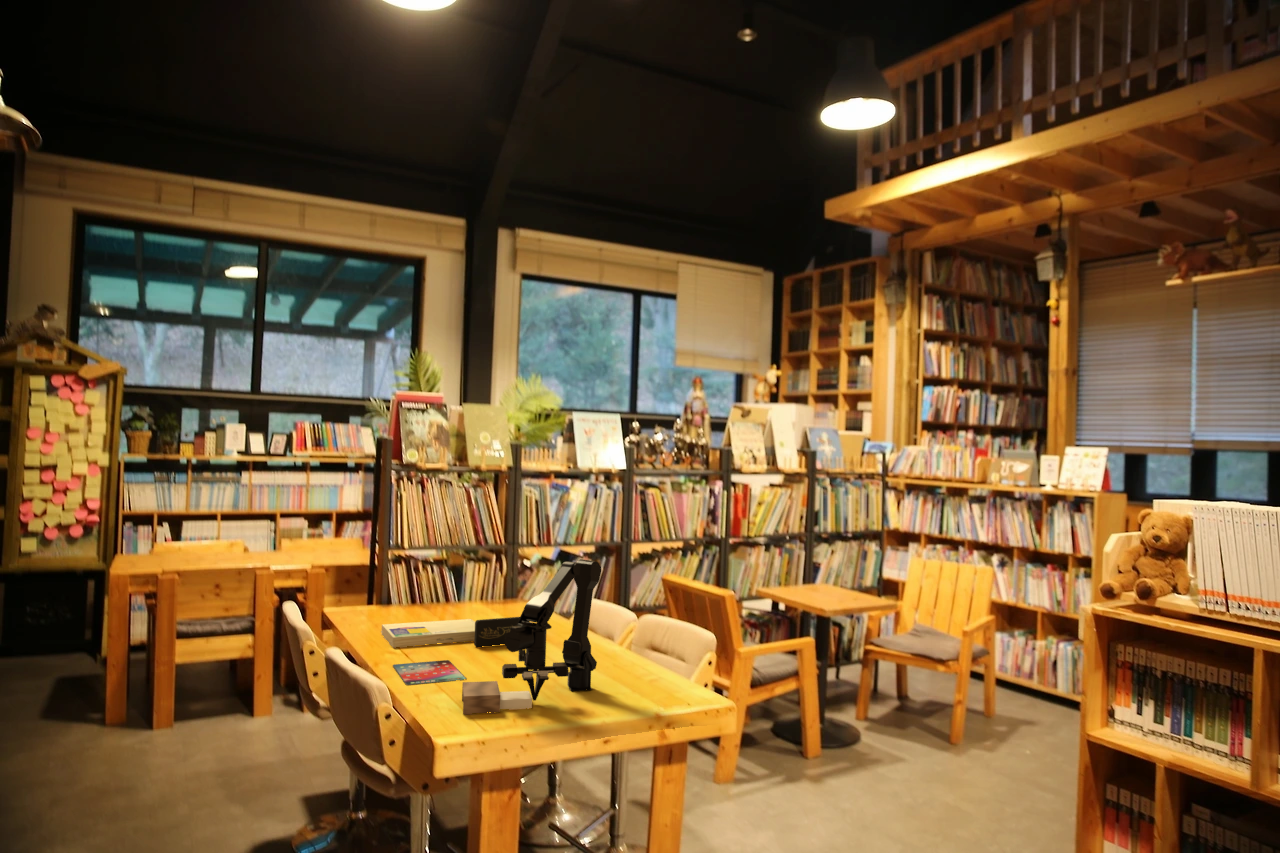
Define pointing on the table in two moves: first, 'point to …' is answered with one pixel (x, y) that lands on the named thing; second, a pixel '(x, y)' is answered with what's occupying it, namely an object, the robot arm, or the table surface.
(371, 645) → the table surface
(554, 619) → the table surface
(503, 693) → the beige block
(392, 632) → the puzzle box
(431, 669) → the tablet
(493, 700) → the wood grain block
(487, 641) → the nameplate
